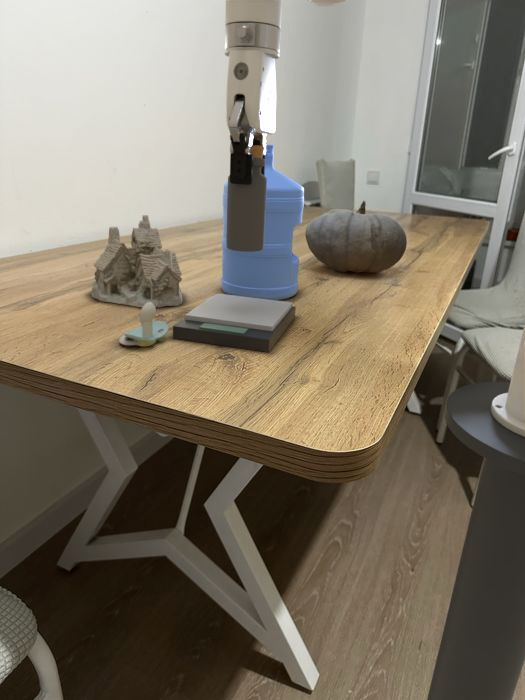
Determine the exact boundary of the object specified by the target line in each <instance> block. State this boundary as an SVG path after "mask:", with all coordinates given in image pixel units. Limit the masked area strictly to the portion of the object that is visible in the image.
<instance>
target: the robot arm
mask: <svg viewBox="0 0 525 700" xmlns="http://www.w3.org/2000/svg"><path fill="white" fill-rule="evenodd" d="M307 1H308V2H310V3H311V4H313V5H315V6H319V7H325V8H327V7H334V6H338V5H341V4H344V3H346V2H349V0H307ZM282 13H283V0H225V17H224V18H225V19H224V23H225V25H224V32H225V33H224V55H225V56H226V57H228V65H227V77H226V91H225V92H226V94H225V95H226V96H225V123H226V124H225V125H226V127H227V129H229V130H228V131H229V134H230V135H229V140H230V144H229V153H230V156H229V158H230V159H229V175H230V183H232V184H244V185H250V184H252V174H253V155H250V154H251V148H252V145H258V146H265V148H264V152H263V157H262V158H263V159H265V156H266V155H265V153H266V145H267V144H266V142H267V138H266V137H267V135H268V136H269V135H270V136H271V135H273V134H274V133H275V132H276V124H277V123H276V122H277V121H276V120H277V118H276V117H277V74H276V72H277V71H276V60H278V59H279V58H280V52H281V34H282V33H281V32H282V16H283V15H282ZM261 174H263V175H264V176H265V166H263V167H262V168H261ZM509 382H510V387H509V391H508V393H504V394H501V395H498V396H497V397H495V398H494V399H493V401H492V404H491V413H492V415H493V417H494V418H495V419H496V420H497V421H498V422H499V423H500V424H501V425H503V426H504V427H505V428H507V429H509V430H511V431H512V432H514V433H516V434H518V435H521V436H523V437H525V324H524V325H523V328H522V334H521V337H520V342H519V346H518V350H517V354H516V359H515V362H514V366H513V371H512V375H511V379H510V381H509Z"/></svg>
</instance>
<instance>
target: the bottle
mask: <svg viewBox="0 0 525 700" xmlns="http://www.w3.org/2000/svg"><path fill="white" fill-rule="evenodd" d="M264 148H265V146H258V145H252V148H251V154H250V155H253V174H252V184H250V185H244V184H232V183H230V174H229V175H228V177H227V182H228V195H227V248H228V249H230V250H234V251H243V252H255V251H261V250H263V249H264V235H265V215H266V194H267V178H266V177H265V176H264V175H263V174H261V168H262V167H263V166H265V162H266V160H265V159H263V158H262V157H263V152H264Z"/></svg>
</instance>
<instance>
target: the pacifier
mask: <svg viewBox="0 0 525 700" xmlns="http://www.w3.org/2000/svg"><path fill="white" fill-rule="evenodd" d="M156 314H157V308H155V306H154V304H153V303H151V302H148V303H146V304H145V305H144V306H143V308H142V307H141V310H140V312H139V316H138V319H139V322H140V323H141V325H140V326H138V327H136V328H134V329H132V330H130V331H127V332H124V333H123V335H122V336H121V337H120V338H119V339H118V342H119V344H121V345H124V346H138V347H149V346H153V345H154V344H155V343H157V341H158V340H160V339H162V338H163V337H166V335H167V334H168V331H169V325H168V324H167V322H165V321H162V320H155V321H153V320H154V319H155V317H156ZM128 339H132V340H128Z"/></svg>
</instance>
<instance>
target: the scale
mask: <svg viewBox="0 0 525 700" xmlns="http://www.w3.org/2000/svg"><path fill="white" fill-rule="evenodd" d="M296 309H297V307H296V306H295V305H293V302H290V301H285V300H268V299H259V298H251V297H243V296H235V295H228V294H227V293H214V294H213V295H212V296H211V297H209V298H208V299H206V300H205V301H203V302H202V303H200V304H199V305H198V306H196V307H195V308H193V309H192V310H190V311H189V312H187V313H185V316H184V318H182V319H181V320H179V321H178V322H176V323H175V324H174V325H173V326H172V339H175V340H181V341H189V342H195V343H204V344H210V345H216V346H217V345H218V346H224V347H230V348H237V349H244V350H251V351H257V352H263V353H269V352H270V351H271V350H272V348H273V347H274V346H275V344H276V343H277V342H278V340H279V339H280V338H281V336H283V334H284V332H285V331H286V330H287V328H289V326H290V325H291V323H292V322H293V321H294V319H295V318H296Z"/></svg>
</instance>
